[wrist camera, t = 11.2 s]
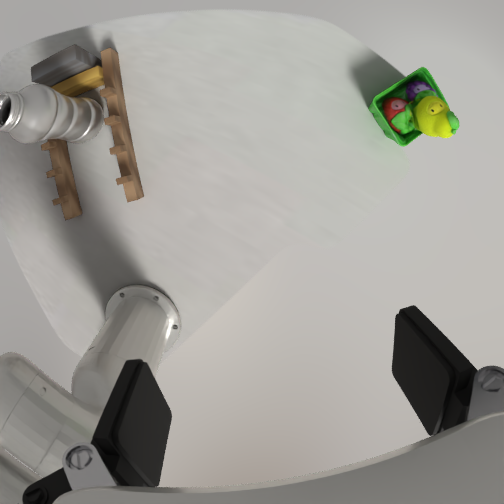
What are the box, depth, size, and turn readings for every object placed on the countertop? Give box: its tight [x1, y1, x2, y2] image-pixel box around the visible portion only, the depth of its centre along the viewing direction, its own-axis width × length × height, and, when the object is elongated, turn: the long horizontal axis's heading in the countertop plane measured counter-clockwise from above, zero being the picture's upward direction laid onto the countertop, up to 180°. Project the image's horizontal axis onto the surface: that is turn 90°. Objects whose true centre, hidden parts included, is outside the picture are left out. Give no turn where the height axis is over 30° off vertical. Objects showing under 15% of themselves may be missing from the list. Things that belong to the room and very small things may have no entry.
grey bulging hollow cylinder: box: [0, 84, 104, 144], centre depth 28 cm, size 6×7×20 cm
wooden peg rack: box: [31, 44, 144, 220], centre depth 33 cm, size 22×12×9 cm, turn 10°
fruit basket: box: [368, 67, 459, 146], centre depth 33 cm, size 11×9×11 cm
